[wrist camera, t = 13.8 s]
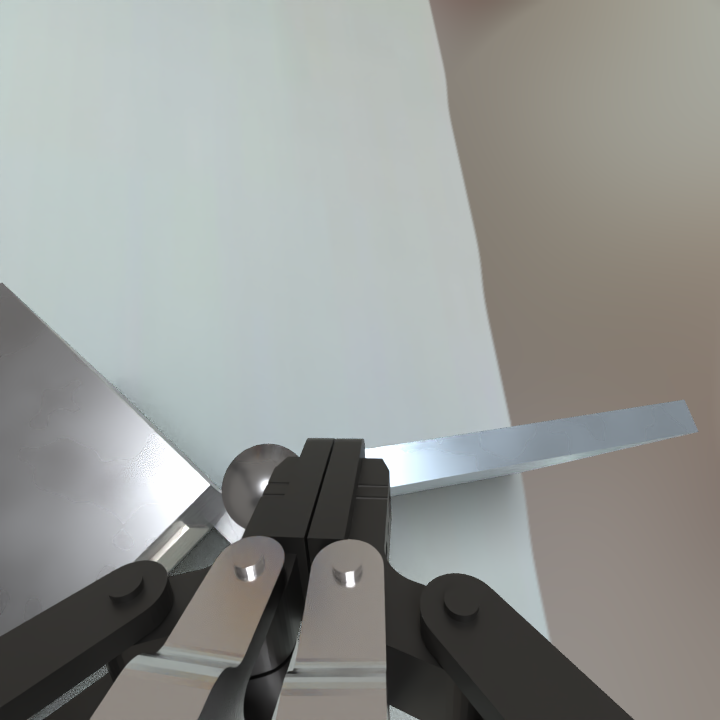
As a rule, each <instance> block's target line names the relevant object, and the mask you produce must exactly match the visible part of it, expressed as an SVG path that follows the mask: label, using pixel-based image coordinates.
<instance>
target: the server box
mask: <svg viewBox="0 0 720 720" xmlns="http://www.w3.org/2000/svg"><path fill="white" fill-rule="evenodd" d="M268 444H269V443H268ZM213 527H215V528H216V529H217V530H218V531H219V532H220V533H221V534H222V535H223V536H224V537H225V538H226V539H227V540H228V541H229V542H230V543H231V544H232V543H234V542H236V541H238V540H241V538H242V536H243V533H244V531H245V529H244V528H242V527H241V526H239V525H238V524H236V523H235V522H234V521H233V520H232V519H231V517H230V516H229V514H228V513H227V511H226V509H225V507H224V504H223V500H222V490H221V489H220V488H218V487H217V486H216V485H215V484H214V483H213V482H212V481H211V480H210V479H209V478H208V477H207V476H206V475H205V474H204V473H203V472H202V471H201V470H200V469H199V468H198V467H197V466H196V465H195V464H194V463H193V462H192V461H191V460H190V459H189V458H188V457H187V456H185V455H184V454H183V453H182V452H181V451H180V450H179V449H178V448H177V447H176V446H175V445H174V444H173V443H172V442H171V441H170V440H169V439H168V438H167V437H166V436H165V435H164V434H163V433H162V432H161V431H160V430H159V429H158V428H157V427H156V426H155V425H154V424H152V423H151V422H150V421H149V420H148V419H147V418H146V417H145V416H144V415H143V414H142V413H141V412H140V411H139V410H138V409H137V408H136V407H135V406H134V405H133V404H132V403H131V402H130V401H129V400H128V399H127V398H126V397H125V396H124V395H123V394H122V393H121V392H119V391H118V390H117V389H116V388H115V387H114V386H113V385H112V384H111V383H110V382H109V381H108V380H107V379H106V378H105V377H104V376H103V375H102V374H100V373H99V372H98V371H97V370H96V369H95V368H94V367H93V366H92V365H91V364H90V363H89V362H87V361H86V360H85V359H84V358H83V357H82V356H81V355H80V354H79V353H78V352H77V351H76V350H74V349H73V348H72V347H71V346H70V345H69V344H68V343H67V342H66V341H65V340H64V339H63V338H61V337H60V336H59V335H58V334H57V333H56V332H55V331H54V330H53V329H52V328H51V327H50V326H48V325H47V324H46V323H45V322H44V321H43V320H42V319H41V318H40V317H39V316H38V315H37V314H35V313H34V312H33V311H32V310H31V309H30V308H29V307H28V306H27V305H26V304H25V303H24V302H22V301H21V300H20V299H19V298H18V297H17V296H16V295H15V294H14V293H13V292H12V291H11V290H9V289H8V288H7V287H6V286H5V285H4V284H3V283H0V636H2V635H4V634H5V633H7V632H9V631H10V630H12V629H14V628H16V627H17V626H19V625H21V624H22V623H24V622H26V621H28V620H29V619H31V618H33V617H35V616H36V615H38V614H40V613H41V612H43V611H45V610H47V609H48V608H50V607H52V606H53V605H55V604H57V603H59V602H60V601H62V600H64V599H66V598H67V597H69V596H71V595H72V594H74V593H76V592H78V591H79V590H81V589H83V588H84V587H86V586H88V585H90V584H91V583H93V582H95V581H97V580H98V579H100V578H102V577H103V576H105V575H107V574H109V573H110V572H112V571H114V570H116V569H117V568H119V567H121V566H124V565H126V564H129V563H132V562H136V561H143V560H150V561H155V562H158V563H160V564H162V565H163V566H164V567H165V569H166V571H167V574H168V575H169V574H170V573H171V571H172V570H173V569H174V568H175V567H176V566H177V565H178V564H179V563H180V562H181V561H182V560H183V559H184V558H185V557H186V556H187V555H188V554H189V553H190V551H191V550H192V549H193V548H194V547H195V546H196V545H197V544H198V543H199V542H200V541H201V540H202V539H203V538H204V537H205V536H206V535H207V534H208V533H209V531H210V530H211V529H212V528H213ZM36 714H37V713H36ZM36 714H34V715H33V716H32V717H30V718H29V719H27V720H31V719H32V718H33V717H34V716H35V715H36Z"/></svg>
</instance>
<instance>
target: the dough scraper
mask: <svg viewBox="0 0 720 720" xmlns="http://www.w3.org/2000/svg"><path fill="white" fill-rule="evenodd" d="M695 432H698V430H697V427H696V426H695V423H694V421H693V418H692V416H691V414H690V412H689V409H688V407H687V405H686V403H685V400H680V401H673V402H667V403H660V404H654V405H648V406H642V407H635V408H628V409H622V410H615V411H610V412H603V413H597V414H590V415H583V416H577V417H571V418H564V419H558V420H551V421H545V422H539V423H533V424H526V425H519V426H513V427H506V428H500V429H494V430H487V431H481V432H474V433H468V434H461V435H455V436H449V437H442V438H436V439H429V440H423V441H416V442H410V443H404V444H397V445H391V446H384V447H378V448H372V449H365V457H366V458H383V460H384V462H385V464H386V465H387V467H388V469H389V470H390V495H391V497H392V496H397V495H402V494H408V493H413V492H418V491H424V490H429V489H435V488H440V487H445V486H451V485H456V484H462V483H467V482H472V481H478V480H483V479H488V478H494V477H499V476H505V475H510V474H515V473H521V472H525V471H530V470H534V469H538V468H543V467H547V466H551V465H556V464H560V463H564V462H569V461H573V460H578V459H582V458H586V457H590V456H595V455H599V454H603V453H608V452H612V451H617V450H621V449H625V448H630V447H634V446H638V445H643V444H647V443H651V442H656V441H660V440H665V439H669V438H673V437H678V436H682V435H686V434H691V433H695ZM287 457H298V456H297V455H296V454H295V453H294V452H292V451H291V450H289V449H287V448H285V447H283V446H280V445H275V444H261V445H256V446H253V447H251V448H249V449H247V450H245V451H243V452H242V453H240V454H239V455H238V456H237V457H236V458H235V459H234V460H233V461H232V463H231V464H230V465H229V467H228V469H227V471H226V473H225V475H224V478H223V482H222V500H223V504H224V507H225V509H226V511H227V513H228V514H229V516H230V517H231V519H232V520H233V521H234V522H235V523H236V524H238V525H239V526H241V527H242V528H244V529H246V527H247V525H248V523H249V521H250V519H251V517H252V514H253V512H254V510H255V508H256V506H257V504H258V502H259V500H260V498H261V497H262V493H263V491H264V489H265V487H266V485H268V481H269V479H270V477H271V474H272V472H273V470H274V468H275V467H276V466H278V465H279V464H280V463H281V462H282V461H283V460H284V459H286V458H287Z"/></svg>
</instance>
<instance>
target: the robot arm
mask: <svg viewBox="0 0 720 720" xmlns="http://www.w3.org/2000/svg"><path fill="white" fill-rule="evenodd" d="M390 531H391V495H390V470H389V469H388V467H387V465H386V464H385V462H384V460H383V458H366V457H365V443H364V439H335V438H308V439H307V440H306V443H305V445H304V448H303V450H302V453H301V455H300V457H287V458H286V459H284V460H283V461H282V462H281V463H280V464H279V465H278V466H276V467H275V468H274V470H273V472H272V474H271V477H270V479H269V481H268V485H266V487H265V489H264V491H263V493H262V497H261V498H260V500H259V502H258V504H257V506H256V508H255V510H254V512H253V514H252V517H251V519H250V521H249V523H248V525H247V527H246V529H245V531H244V533H243V536H242V538H241V540H238V541H236V542H234V543H232V544H231V545H229V546H228V547H227V548H225V549H224V550H223V551H222V552H221V553H220V554H219V556H218V557H217V558H216V560H215V562H214V563H213V565H212V566H209V567H207V568H204V569H201V570H197V571H193V572H188V573H184V574H179V575H175V576H171V577H168V574H167V571H166V569H165V567H164V566H163V565H162V564H160V563H158V562H155V561H150V560H143V561H136V562H132V563H129V564H126V565H124V566H121V567H119V568H117V569H116V570H114V571H112V572H110V573H109V574H107V575H105V576H103V577H102V578H100V579H98V580H97V581H95V582H93V583H91V584H90V585H88V586H86V587H84V588H83V589H81V590H79V591H78V592H76V593H74V594H72V595H71V596H69V597H67V598H66V599H64V600H62V601H60V602H59V603H57V604H55V605H53V606H52V607H50V608H48V609H47V610H45V611H43V612H41V613H40V614H38V615H36V616H35V617H33V618H31V619H29V620H28V621H26V622H24V623H22V624H21V625H19V626H17V627H16V628H14V629H12V630H10V631H9V632H7V633H5V634H4V635H2V636H0V720H27V719H29V718H30V717H32V716H33V715H34V714H36V713H37V712H39V711H40V710H41V709H43V708H44V707H46V706H47V705H49V704H50V703H51V702H53V701H54V700H56V699H57V698H58V697H60V696H61V695H63V694H64V693H66V692H67V691H68V690H70V689H71V688H73V687H74V686H75V685H77V684H78V683H80V682H81V681H83V680H84V679H85V678H87V677H88V676H90V675H91V674H92V673H94V672H95V671H97V670H98V669H100V668H101V667H102V666H104V665H105V664H106V666H107V669H108V671H109V673H107V674H106V675H105V676H103V677H102V678H100V679H99V680H98V681H96V682H95V683H93V684H92V685H91V686H89V687H88V688H87V689H85V690H84V691H82V692H81V693H80V694H78V695H77V696H75V697H74V698H73V699H71V700H70V701H68V702H67V703H66V704H64V705H63V706H62V707H60V708H59V709H57V710H56V711H55V712H53V713H52V714H50V715H49V716H48V717H46V718H45V719H43V720H390V705H391V706H393V707H395V708H397V709H399V710H401V711H403V712H405V713H407V714H409V715H411V716H413V717H415V718H417V719H419V720H634V719H633V718H631V717H630V716H629V715H628V714H627V713H626V712H625V711H624V710H623V709H622V708H621V707H620V706H619V705H617V704H616V703H615V702H614V701H613V700H612V699H611V698H610V697H609V696H607V694H605V693H604V692H603V691H602V690H601V689H600V688H599V687H598V686H597V685H596V684H595V683H593V682H592V681H591V680H590V679H589V678H588V677H587V676H586V675H585V674H584V673H583V672H581V671H580V670H579V669H578V668H577V667H576V666H575V665H574V664H573V663H572V662H571V661H570V660H569V659H568V658H566V657H565V656H564V655H563V654H562V653H561V652H560V651H559V650H558V649H557V648H556V647H554V646H553V645H552V644H551V643H550V642H549V641H548V640H547V639H546V638H545V637H544V636H543V635H541V634H540V633H539V632H538V631H537V630H536V629H535V628H534V627H533V626H532V625H531V624H529V623H528V622H527V621H526V620H525V619H524V618H523V617H522V616H521V615H520V614H519V613H518V612H516V611H515V610H514V609H513V608H512V607H511V606H510V605H509V604H508V603H507V602H506V601H504V600H503V599H502V598H501V597H500V596H499V595H498V594H497V593H496V592H495V591H494V590H493V589H491V588H490V587H489V586H488V585H487V584H485V583H484V582H482V581H481V580H479V579H477V578H475V577H472V576H469V575H466V574H459V573H451V574H445V575H442V576H439V577H437V578H435V579H433V580H432V581H431V582H429V583H428V585H427V586H425V585H422V584H420V583H417V582H414V581H411V580H409V579H407V578H405V577H403V576H402V575H400V574H399V573H398V572H396V571H395V570H394V569H393V568H392V567H391V565H390V564H389V547H390ZM301 621H302V626H301V632H300V638H299V644H298V637H297V635H298V631H299V627H300V623H301Z"/></svg>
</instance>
